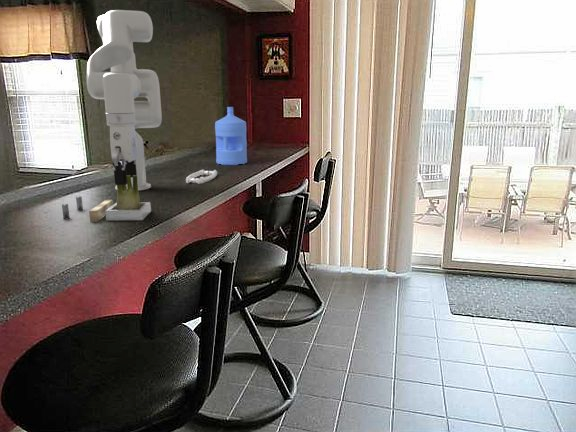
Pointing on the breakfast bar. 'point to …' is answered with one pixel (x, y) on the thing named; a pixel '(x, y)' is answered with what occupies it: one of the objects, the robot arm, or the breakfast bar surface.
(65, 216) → the pegs
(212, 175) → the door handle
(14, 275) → the breakfast bar surface
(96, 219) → the door edge rail
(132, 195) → the fennel bulb
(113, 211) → the frame
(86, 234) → the breakfast bar surface
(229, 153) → the water jug
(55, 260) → the breakfast bar surface
